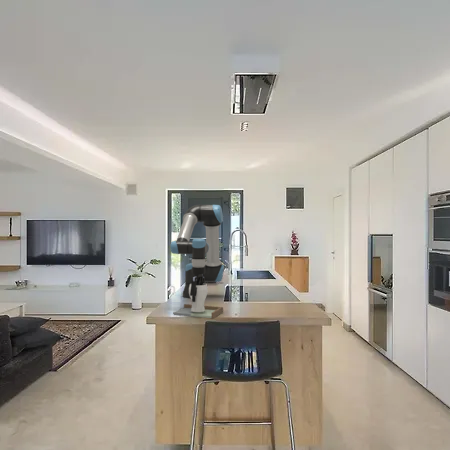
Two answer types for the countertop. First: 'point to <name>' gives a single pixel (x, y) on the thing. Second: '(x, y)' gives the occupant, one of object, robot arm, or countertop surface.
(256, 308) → the countertop surface
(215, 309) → the rail board
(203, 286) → the cup
